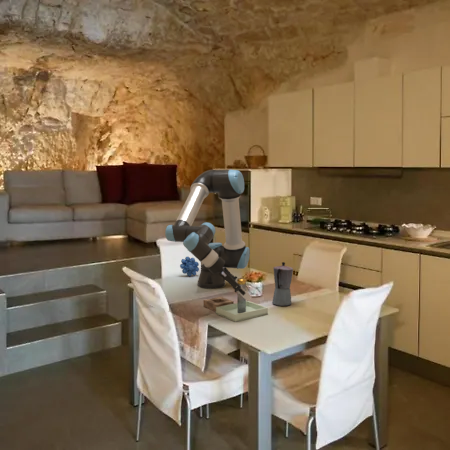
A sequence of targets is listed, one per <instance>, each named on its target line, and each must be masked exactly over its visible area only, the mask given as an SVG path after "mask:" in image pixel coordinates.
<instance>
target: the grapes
mask: <svg viewBox="0 0 450 450" xmlns="http://www.w3.org/2000/svg"><path fill="white" fill-rule="evenodd" d="M199 264H200V263H199V262H198V261H196V259H195V258H194V257H189V256H185V258H182V259H181V264H180V265H179V267H180V269H181V272H182V273H183V274H184V275H186V276H187V277H191V276H194V277H195V276H196V275H197V273H198V272H199V271H200V267H199Z"/></svg>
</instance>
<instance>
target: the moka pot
mask: <svg viewBox="0 0 450 450" xmlns="http://www.w3.org/2000/svg"><path fill="white" fill-rule="evenodd" d="M293 273H294V269H293V267H291V266H288V265H287V266H286V262H285V261H283V262H281V265H278V266H273V277H274V292H273V297H272V302H271V303H272V304H273V305H276V306H284V307H285V306H291V305H292V297H291V296H292V295H291V294H292V293H291V285H292V279H293Z"/></svg>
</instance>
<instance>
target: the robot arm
mask: <svg viewBox="0 0 450 450" xmlns="http://www.w3.org/2000/svg"><path fill="white" fill-rule="evenodd" d="M189 189H190V192H189V194H188V196H187V198H186V200H185V202H184V204H183V206H182V208H181V210H180V212H179V214H178V216H177V218H176V220H175V222H174V224H168V225H167V226H166V228H165V232H164V235H165V238H166V240H167V241H169V242H175V243H182V246H184V247H185V249H186V250H187V251H188V252H189V253H190V254H192V256H194V257H195V258H196V259H197V260H198V261H199V262H200V273H199V276H198V280H197V286H198V288H201V289H208V290H209V289H210V290H211V289H219V288H224V287H226V282H227V284H229V285H230V286H231V287H232V288H233V290H234V292H235V293H237V292H238V293H239V294H240V295H241V296H242V297H243V298H244V299H245V300H246V301H250V300H251V299H252V295H251V294H250V293H249V292H248V291H247V287H246V291H245V290H244V289H243V288H242V287H241V286H240V285H239V284H238V283H237V279H238V276H237V275H233V273H231V272H230V270H229V269H237V270H240V269H243V270H244V269H245V268H247V266H248V263H249V261H250V255H251V252H250V247H249V246H246V242H245V241H244V240H243V235H242V233H243V232H242V223H241V222H242V221H241V211H240V200H239V199H240V198H241V197H242V194H243V193H244V191H245V180H244V175H243V174H242V172H241V171H240V170H238V169H208V170H206V171H204V172H202V173H201V174H199V175H198V176H197V177H196V178H195V179H194V180H193V182H192V183H191V186H190V188H189ZM212 193H213V194H217V196H218V199H219V200H221V206H222V213H223V214H222V215H223V217H222V218H223V226H224V227H223V228H224V236H225V242H224V244H223V243H222V242H212V240H213V238H214V237H215V234H216V228H215V225H213V224H212V223H211V222H206V221H205V222H203V223H202V224H200V225H193V223H194V221H195V219H196V217H197V215H198V213H199V210H200V209H201V206H202V204H203V202H204V200H205V198H207V197H209V194H212Z"/></svg>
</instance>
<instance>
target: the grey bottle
mask: <svg viewBox="0 0 450 450" xmlns="http://www.w3.org/2000/svg"><path fill="white" fill-rule="evenodd" d="M237 283H238V284H239V285H240V286H241V287H242V288H243V289H244V290H245V291H246V292H247V290H246V288H247V278H245V277H239V278H238V277H237ZM236 294H237V295H236V297H237V298H236V299H237V301H236V303H237V313H244V312H246V301H247V300H245V299H244V298H243V297H242V296H241V295H240V294H239V293H238V292H236Z"/></svg>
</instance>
